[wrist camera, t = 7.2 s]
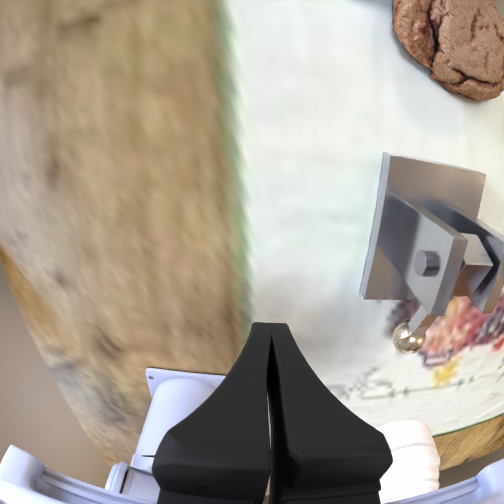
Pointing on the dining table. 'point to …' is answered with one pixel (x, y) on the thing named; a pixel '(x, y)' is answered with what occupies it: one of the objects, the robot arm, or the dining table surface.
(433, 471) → the honey pot
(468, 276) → the tap lever
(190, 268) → the dining table surface
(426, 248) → the bracket
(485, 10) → the cookie
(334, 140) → the dining table surface
